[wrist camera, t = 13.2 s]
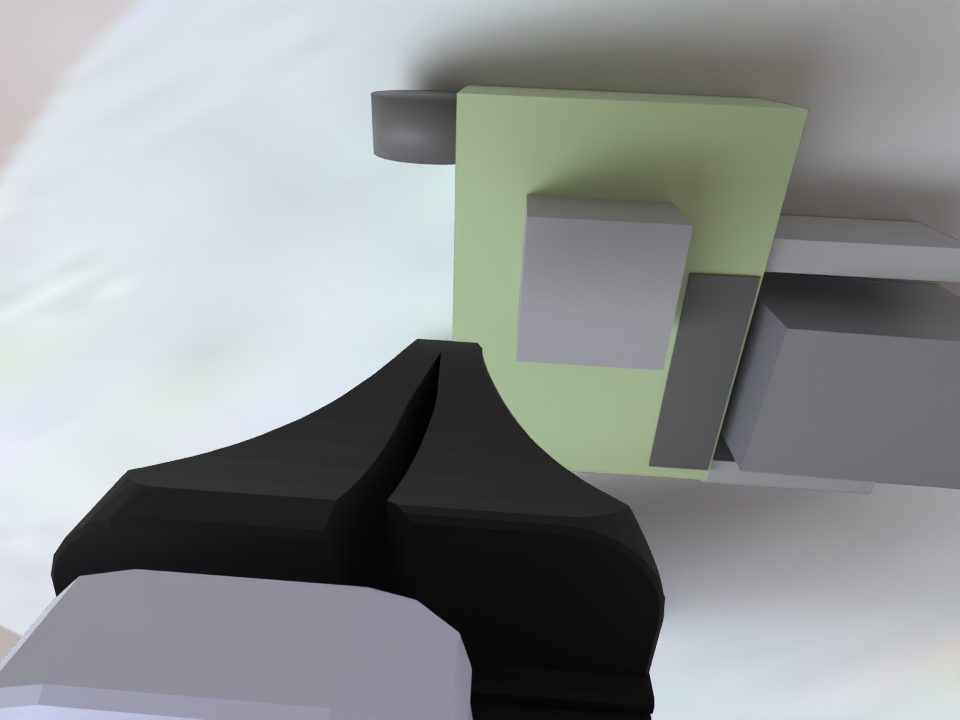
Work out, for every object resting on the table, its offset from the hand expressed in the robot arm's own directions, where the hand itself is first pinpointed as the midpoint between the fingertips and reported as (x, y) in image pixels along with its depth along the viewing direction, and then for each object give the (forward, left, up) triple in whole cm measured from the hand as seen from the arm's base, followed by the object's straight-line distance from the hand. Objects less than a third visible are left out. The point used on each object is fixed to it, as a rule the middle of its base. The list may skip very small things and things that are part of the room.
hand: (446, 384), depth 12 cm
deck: (-1, -6, -10) cm, 11 cm away
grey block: (-3, -12, -10) cm, 16 cm away
